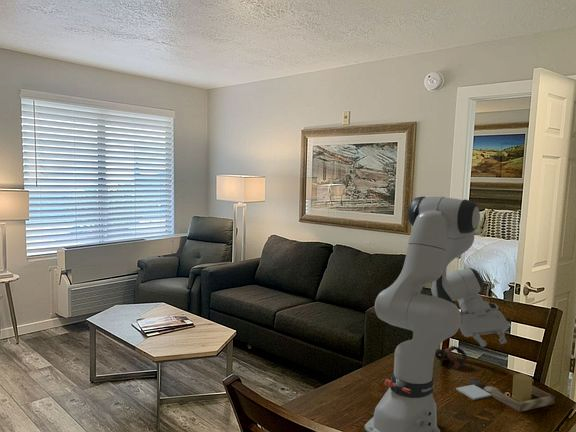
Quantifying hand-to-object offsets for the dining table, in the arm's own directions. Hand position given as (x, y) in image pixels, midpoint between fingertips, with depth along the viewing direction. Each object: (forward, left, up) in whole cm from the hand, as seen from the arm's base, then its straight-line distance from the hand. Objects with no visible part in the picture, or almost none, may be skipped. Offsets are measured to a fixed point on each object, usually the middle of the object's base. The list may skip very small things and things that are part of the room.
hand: (494, 344), depth 159 cm
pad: (-12, +1, -15) cm, 19 cm away
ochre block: (-4, -12, -15) cm, 19 cm away
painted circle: (-5, -2, -15) cm, 16 cm away
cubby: (-4, -12, -15) cm, 19 cm away
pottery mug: (+5, +19, -15) cm, 24 cm away
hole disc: (-5, +3, -15) cm, 16 cm away
